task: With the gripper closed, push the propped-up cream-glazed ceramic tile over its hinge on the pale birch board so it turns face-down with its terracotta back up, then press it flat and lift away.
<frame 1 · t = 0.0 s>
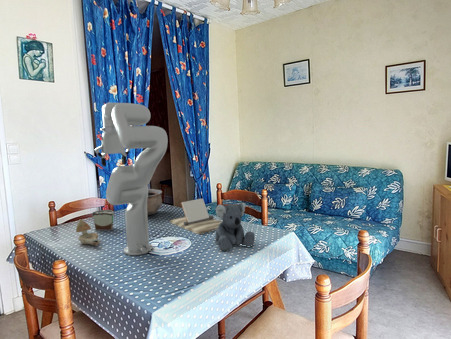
hand: (114, 165, 155), 37 cm above the table, tool pointing down, fingers open, 9 cm apart
tile: (195, 211, 179), point 7 cm above the table, hinge at 60.0°
food container: (106, 228, 175), on the table
oil lamp: (89, 243, 152), on the table
tile stand: (199, 224, 177), on the table
koala plush: (231, 244, 146), on the table
ceramic bowl: (145, 215, 202), on the table
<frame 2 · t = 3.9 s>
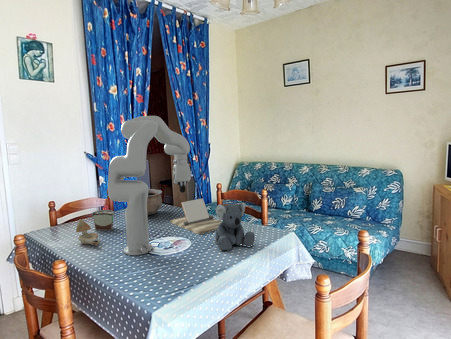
hand: (182, 192, 189), 16 cm above the table, tool pointing down, fingers closed
nothing on the table moved.
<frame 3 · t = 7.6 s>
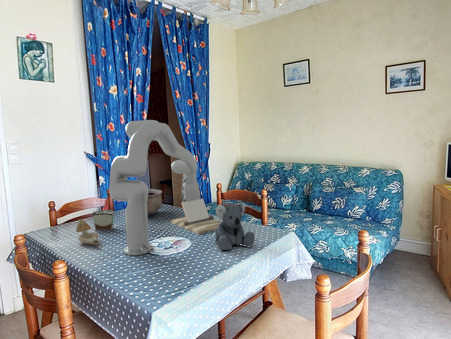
hand: (191, 211, 183), 6 cm above the table, tool pointing down, fingers closed
tile: (195, 211, 179), point 7 cm above the table, hinge at 60.1°, touching gripper
everything else where it was.
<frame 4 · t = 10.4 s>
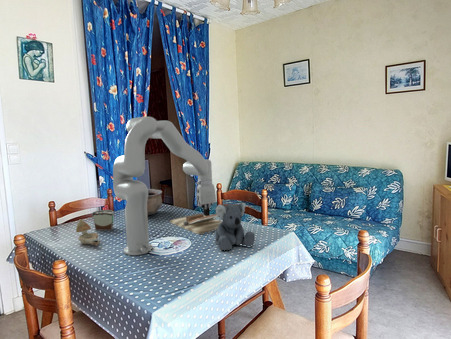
hand: (206, 215, 171), 7 cm above the table, tool pointing down, fingers closed
tile: (204, 218, 173), point 4 cm above the table, hinge at 158.0°, touching gripper
everything else where it was.
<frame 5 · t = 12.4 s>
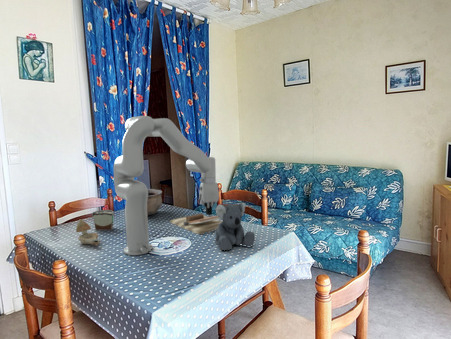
hand: (208, 214, 167), 8 cm above the table, tool pointing down, fingers closed
tile: (204, 219, 173), point 4 cm above the table, hinge at 164.1°
everything else where it was.
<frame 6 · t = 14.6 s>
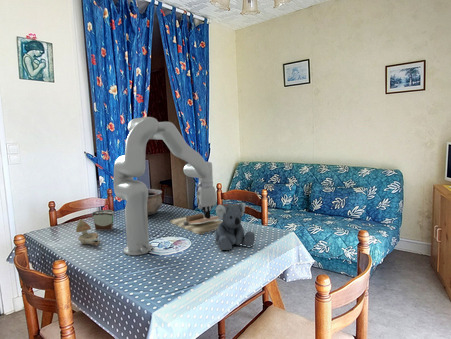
hand: (207, 217, 171), 5 cm above the table, tool pointing down, fingers closed
tile: (204, 220, 173), point 4 cm above the table, hinge at 165.7°, touching gripper
everything else where it was.
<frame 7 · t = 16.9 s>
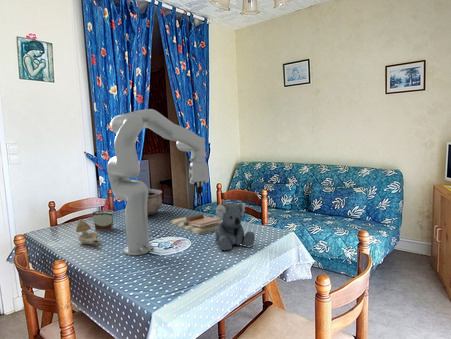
hand: (199, 193, 170), 19 cm above the table, tool pointing down, fingers closed
tile: (204, 221, 173), point 3 cm above the table, hinge at 173.3°
everything else where it was.
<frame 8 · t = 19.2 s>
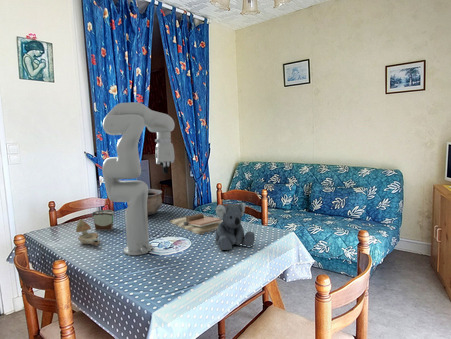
hand: (165, 173, 177), 29 cm above the table, tool pointing down, fingers closed
nothing on the table moved.
at the end: tile at +173° (first picture: +60°) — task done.
